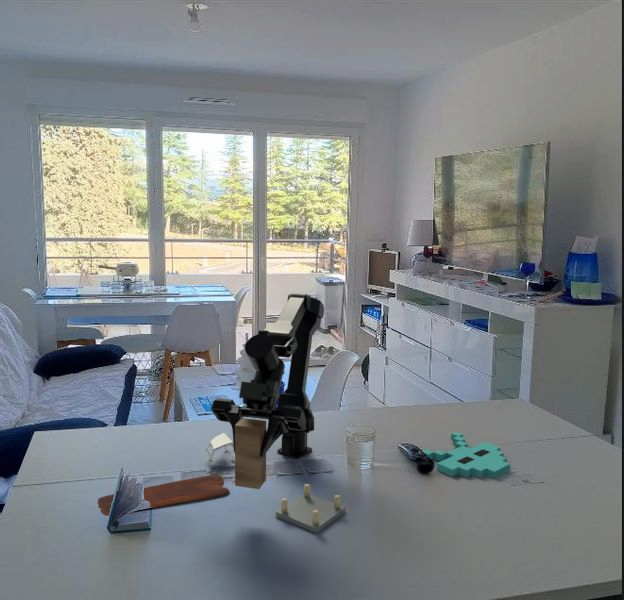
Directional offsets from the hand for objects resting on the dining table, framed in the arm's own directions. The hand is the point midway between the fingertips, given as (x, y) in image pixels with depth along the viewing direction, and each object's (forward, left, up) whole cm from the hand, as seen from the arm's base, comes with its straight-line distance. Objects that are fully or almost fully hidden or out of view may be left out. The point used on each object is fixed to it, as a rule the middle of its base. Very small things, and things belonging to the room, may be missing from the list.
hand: (248, 454), depth 117 cm
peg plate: (-9, +9, -13) cm, 18 cm away
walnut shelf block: (-1, -1, -7) cm, 7 cm away
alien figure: (-53, +24, -14) cm, 60 cm away
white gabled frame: (-17, -24, -14) cm, 32 cm away
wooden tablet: (+4, -20, -14) cm, 25 cm away
